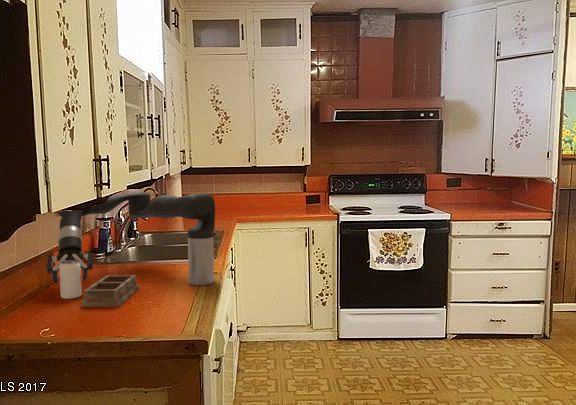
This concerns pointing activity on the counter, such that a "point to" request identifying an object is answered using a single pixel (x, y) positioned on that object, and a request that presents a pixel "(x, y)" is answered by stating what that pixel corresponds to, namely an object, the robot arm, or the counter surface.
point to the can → (70, 279)
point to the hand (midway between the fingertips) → (70, 281)
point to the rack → (110, 291)
